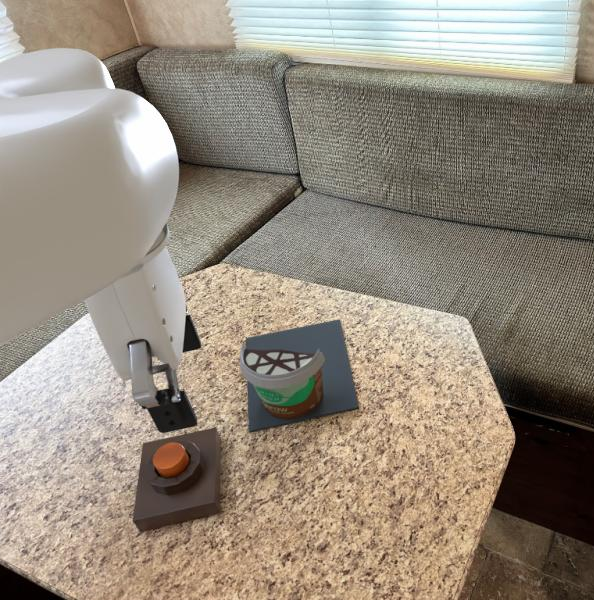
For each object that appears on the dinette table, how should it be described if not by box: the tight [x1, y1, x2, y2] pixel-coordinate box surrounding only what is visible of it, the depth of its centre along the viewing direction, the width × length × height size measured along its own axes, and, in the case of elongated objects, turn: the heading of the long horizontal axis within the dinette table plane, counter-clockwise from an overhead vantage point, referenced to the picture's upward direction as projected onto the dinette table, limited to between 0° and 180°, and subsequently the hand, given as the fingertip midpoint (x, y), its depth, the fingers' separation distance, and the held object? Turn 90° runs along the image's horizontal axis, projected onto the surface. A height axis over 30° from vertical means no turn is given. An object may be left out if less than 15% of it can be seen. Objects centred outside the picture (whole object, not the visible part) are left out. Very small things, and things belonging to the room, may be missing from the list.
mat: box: [245, 318, 360, 433], centre depth 95 cm, size 20×16×1 cm
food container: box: [239, 342, 325, 420], centre depth 86 cm, size 12×6×10 cm, turn 80°
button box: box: [132, 427, 222, 533], centre depth 80 cm, size 12×10×4 cm
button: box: [153, 443, 189, 478], centre depth 78 cm, size 4×4×2 cm
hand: (182, 386), depth 56 cm, fingers open, 9 cm apart
